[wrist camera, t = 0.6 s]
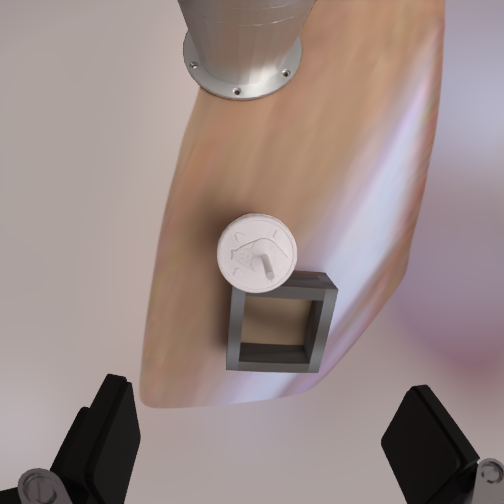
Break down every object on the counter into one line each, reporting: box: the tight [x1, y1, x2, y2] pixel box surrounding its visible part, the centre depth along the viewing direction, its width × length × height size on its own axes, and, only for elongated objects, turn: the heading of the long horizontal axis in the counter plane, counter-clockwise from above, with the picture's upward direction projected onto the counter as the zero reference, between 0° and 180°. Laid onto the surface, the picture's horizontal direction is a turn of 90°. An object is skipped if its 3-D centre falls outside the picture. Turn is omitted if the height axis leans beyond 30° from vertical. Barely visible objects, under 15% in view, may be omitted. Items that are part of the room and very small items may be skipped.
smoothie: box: [217, 213, 297, 293], centre depth 26 cm, size 6×6×14 cm
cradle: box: [226, 271, 338, 373], centre depth 34 cm, size 11×11×5 cm
